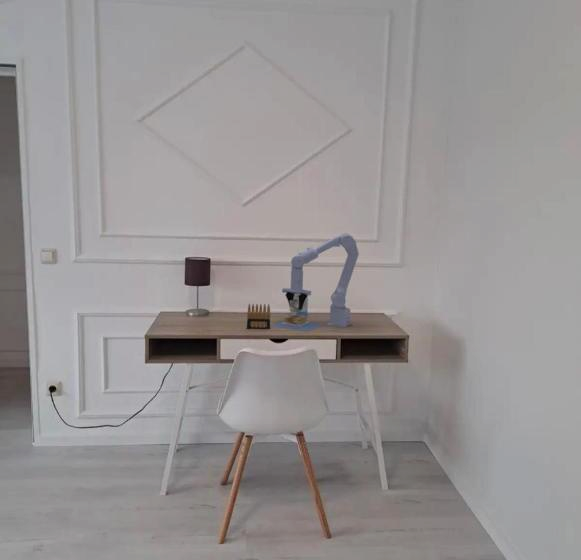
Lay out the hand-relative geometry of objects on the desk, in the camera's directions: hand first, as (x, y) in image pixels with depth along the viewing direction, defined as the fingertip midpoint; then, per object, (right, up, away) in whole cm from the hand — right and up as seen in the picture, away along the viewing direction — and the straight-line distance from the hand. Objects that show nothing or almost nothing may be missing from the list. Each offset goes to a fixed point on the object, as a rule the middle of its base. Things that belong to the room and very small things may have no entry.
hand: (295, 308), depth 250 cm
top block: (0, -1, 0) cm, 1 cm away
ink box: (+2, -5, +20) cm, 21 cm away
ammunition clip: (-17, -9, -13) cm, 23 cm away
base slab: (0, -7, +1) cm, 7 cm away
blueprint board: (+1, -8, -4) cm, 9 cm away
